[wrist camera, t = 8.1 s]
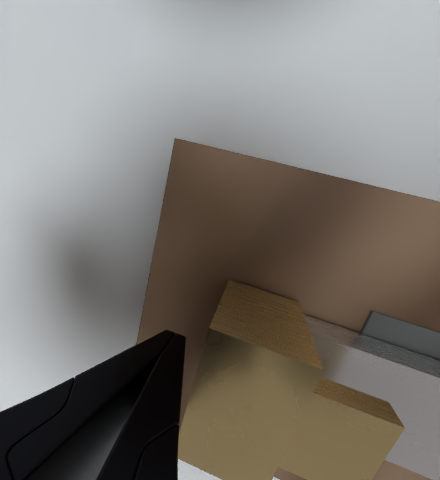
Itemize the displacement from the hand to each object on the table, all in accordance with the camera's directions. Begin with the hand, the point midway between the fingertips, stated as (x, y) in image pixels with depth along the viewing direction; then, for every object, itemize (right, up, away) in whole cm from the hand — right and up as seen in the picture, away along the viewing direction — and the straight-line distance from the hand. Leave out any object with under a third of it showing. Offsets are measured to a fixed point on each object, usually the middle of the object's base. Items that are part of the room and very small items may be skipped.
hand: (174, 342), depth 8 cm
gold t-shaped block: (+4, -1, +1) cm, 4 cm away
